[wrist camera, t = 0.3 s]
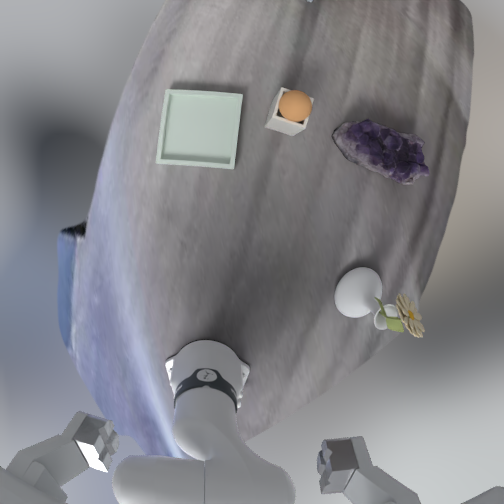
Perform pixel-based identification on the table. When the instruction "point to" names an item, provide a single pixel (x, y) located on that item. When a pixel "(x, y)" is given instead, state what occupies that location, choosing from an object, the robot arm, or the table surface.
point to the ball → (295, 105)
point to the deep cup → (281, 123)
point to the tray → (199, 128)
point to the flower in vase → (375, 302)
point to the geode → (382, 150)
